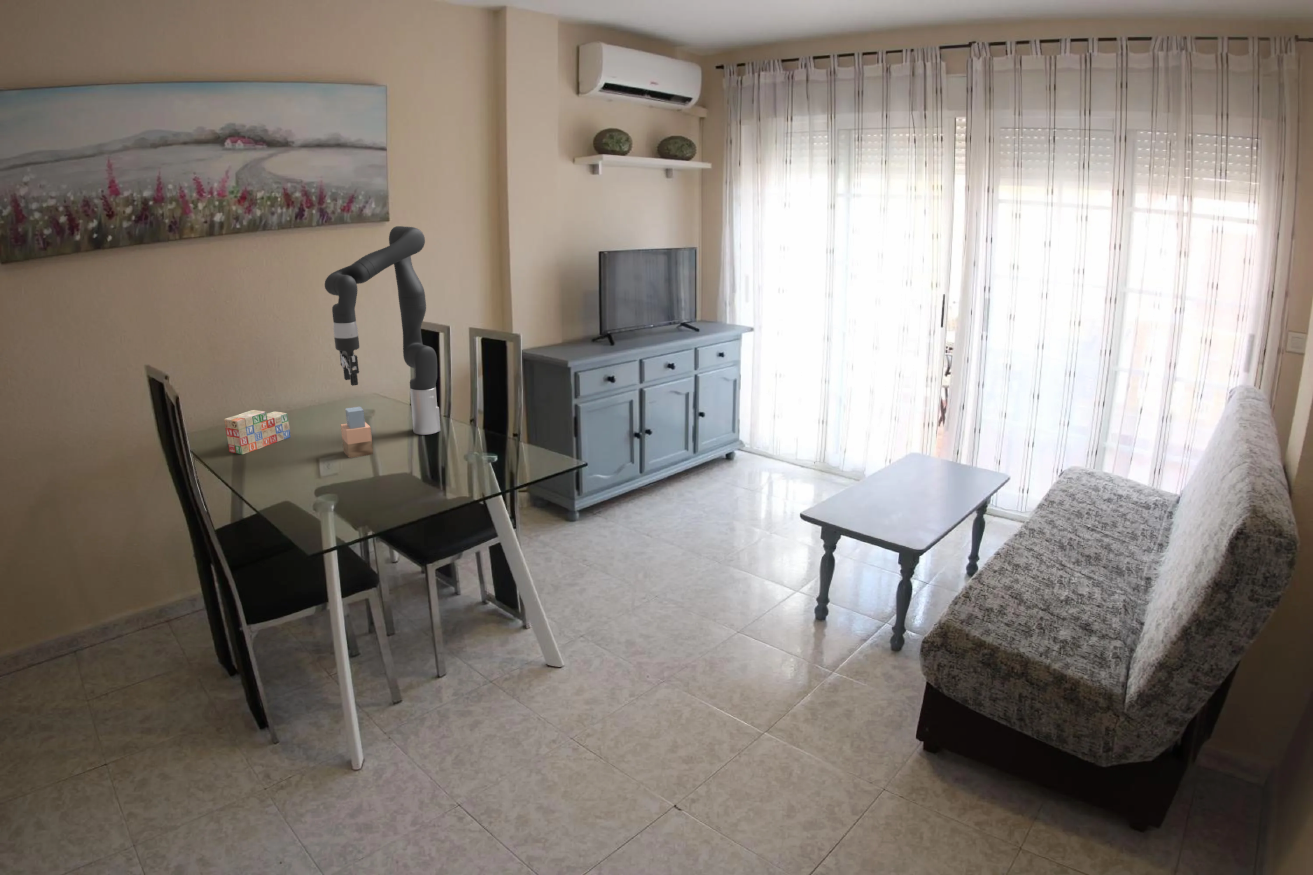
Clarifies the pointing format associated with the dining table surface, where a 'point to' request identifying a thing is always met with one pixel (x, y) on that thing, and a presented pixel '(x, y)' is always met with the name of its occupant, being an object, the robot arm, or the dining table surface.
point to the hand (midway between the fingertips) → (351, 382)
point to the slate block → (355, 417)
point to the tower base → (357, 449)
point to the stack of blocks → (255, 430)
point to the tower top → (356, 434)
